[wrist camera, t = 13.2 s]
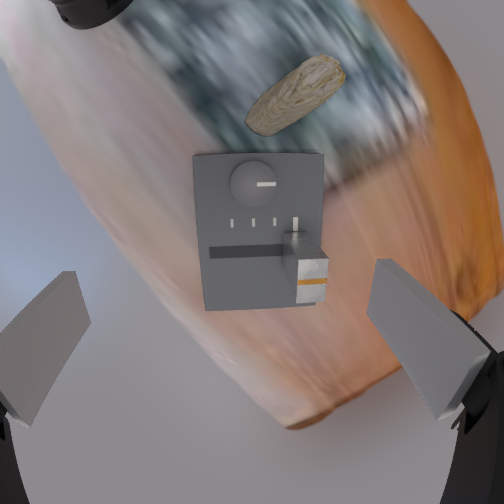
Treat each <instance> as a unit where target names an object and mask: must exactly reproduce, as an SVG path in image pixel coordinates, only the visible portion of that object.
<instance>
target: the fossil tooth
mask: <svg viewBox="0 0 504 504" xmlns="http://www.w3.org/2000/svg"><path fill="white" fill-rule="evenodd" d="M344 82H345V74H344V73H343V71H342V69H341V67H340V63H339V60H336V59H334V58H333V57H332V56H326V55H323V54H321V55H319V56H317V57H316V56H313V57H311V58H310V59H308V60H306V61H305V62H303V63H302V64H301V65H300V66H299V67H298V68H297V69H295V70H293V71H292V72H290V73H289V74H288V75H287V76H286V77H285V78H284V79H282V80H281V81H279V82H278V83H277V84H275V85H274V86H273V87H272V88H270V89H269V90H268V91H266V92H265V93H264V94H262V96H261V97H260V98H259V99H258V101H257V102H256V103H255V104H254V105H253V106H252V108H251V110H250V111H249V113H248V116H247V118H246V120H245V123H246V124H247V125H248V126H249V127H250V128H251V129H252V130H253V131H254V132H256V133H258V134H261V135H263V136H271V135H273V134H275V133H277V132H278V131H279V130H281V129H283V128H285V127H287V126H288V125H290V124H292V123H294V122H296V121H298V119H300V118H302V117H304V116H305V115H307V114H308V113H309V112H311V111H313V110H314V109H315V108H317V107H319V106H320V105H322V104H323V103H324V102H326V101H327V100H328V99H329V98H330V97H331V96H332V95H333V94H334V93H335V92H336V91H337V90H338V89H339V88H340V87H341V86H342V84H343V83H344Z"/></svg>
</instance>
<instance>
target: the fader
mask: <svg viewBox="0 0 504 504" xmlns="http://www.w3.org/2000/svg"><path fill="white" fill-rule="evenodd" d="M328 261H329V258H328V257H327V255H326V254H325V253H324V252H323V250H322V249H321V248H320V247H319V246H318V244H317V243H316V242H315V241H314V239H313V238H312V237H311V236H310V234H309V233H308V232H284V234H283V270H284V273H285V276H286V278H287V281H288V283H289V286H290V289H291V291H292V294H293V297H294V299H295V302H296V304H297V303H310V302H322V301H324V299H325V291H326V282H327V272H328Z"/></svg>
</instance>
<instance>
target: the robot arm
mask: <svg viewBox="0 0 504 504" xmlns="http://www.w3.org/2000/svg"><path fill="white" fill-rule="evenodd" d="M49 1H51V2H53V3H54V4H55V6H56V8H57V10H58V12H59V14H60V16H61V18H62V20H63V21H64V22H65V23H66V24H68V25H69V26H71V27H73V28H75V29H89V28H93V27H96V26H99V25H101V24H103V23H105V22H107V21H109V20H110V19H112V18H114V17H115V16H116V15H118V14H119V13H120V12H122V11H123V10H124V9H125V8H126V7H127V6H128V5H129V4H130V3H131V2H132V0H49ZM366 314H367V315H368V316H369V318H370V319H371V321H372V322H373V324H374V325H375V326H376V328H377V329H378V331H379V332H380V334H381V335H382V337H383V338H384V339H385V341H386V342H387V344H388V345H389V347H390V348H391V350H392V351H393V353H394V354H395V356H396V357H397V359H398V360H399V362H400V363H401V365H402V366H403V368H404V369H405V371H406V373H407V374H408V376H409V377H410V379H411V380H412V382H413V383H414V385H415V387H416V388H417V390H418V392H419V393H420V394H421V396H422V398H423V400H424V401H425V403H426V404H427V406H428V407H429V409H430V411H431V413H432V414H433V416H434V418H435V419H436V421H438V420H441V419H443V418H445V417H447V416H449V415H451V414H453V413H454V411H455V410H456V409H457V407H458V406H459V404H460V403H461V402H462V403H463V405H464V406H465V408H464V409H463V411H462V412H461V413H460V415H459V416H458V418H457V419H456V420H455V421H454V423H453V424H452V427H451V429H454V427H455V426H456V425H457V424H458V422H460V424H459V427H458V429H457V430H458V436H457V442H456V446H455V451H454V456H453V461H452V464H451V468H450V473H449V476H448V479H447V483H446V486H445V489H444V492H443V496H442V498H441V501H440V504H504V351H502V352H500V353H497V352H496V351H495V350H494V349H493V348H492V347H491V345H490V344H489V343H488V342H487V341H486V340H485V339H484V338H483V337H482V336H481V335H480V334H479V333H478V332H477V331H474V328H473V327H471V325H470V324H468V322H467V321H466V320H464V319H463V318H462V317H461V316H460V315H459V314H457V313H455V312H454V311H452V310H450V309H448V308H447V307H446V306H445V305H444V304H443V303H442V302H441V301H439V300H438V299H437V298H436V297H435V296H434V295H433V294H432V293H431V292H429V291H428V290H427V289H426V288H425V287H424V286H423V285H422V284H420V283H419V282H418V281H417V280H416V279H415V278H414V277H412V276H411V275H410V274H409V273H408V272H407V271H405V270H404V269H403V268H402V267H401V266H399V265H398V264H397V263H396V262H395V261H393V260H392V259H376V266H375V272H374V278H373V283H372V289H371V294H370V299H369V304H368V309H367V313H366ZM90 324H91V321H90V318H89V315H88V312H87V309H86V306H85V303H84V299H83V296H82V293H81V290H80V286H79V282H78V279H77V275H76V272H75V271H63V272H62V273H61V274H59V275H58V276H57V277H56V278H55V279H54V280H53V281H52V282H51V283H50V284H48V285H47V286H46V287H45V288H44V289H43V290H42V291H41V292H40V293H39V294H38V295H37V296H36V297H35V298H34V299H33V300H32V301H31V302H30V303H29V304H28V305H27V306H26V307H25V308H24V309H23V310H22V311H21V312H20V313H19V314H18V315H17V316H16V317H15V318H14V319H13V320H12V321H11V322H10V323H9V324H8V325H7V327H5V329H4V330H3V331H2V332H1V333H0V504H30V503H29V501H28V498H27V495H26V492H25V489H24V486H23V483H22V479H21V476H20V472H19V468H18V464H17V460H16V456H15V452H14V447H13V442H12V436H11V431H10V425H9V422H8V419H7V418H6V417H5V415H6V413H7V411H8V413H9V414H10V415H11V416H12V418H13V419H14V420H15V421H16V422H17V423H19V424H22V425H24V426H26V427H29V428H30V427H31V425H32V423H33V421H34V419H35V417H36V415H37V413H38V411H39V409H40V407H41V405H42V403H43V402H44V400H45V398H46V396H47V394H48V392H49V391H50V389H51V387H52V385H53V384H54V382H55V380H56V378H57V376H58V375H59V373H60V371H61V370H62V368H63V366H64V365H65V363H66V362H67V360H68V358H69V357H70V355H71V353H72V352H73V350H74V349H75V347H76V345H77V344H78V342H79V341H80V339H81V338H82V336H83V335H84V333H85V332H86V330H87V329H88V327H89V326H90Z"/></svg>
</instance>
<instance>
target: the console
mask: <svg viewBox="0 0 504 504" xmlns="http://www.w3.org/2000/svg"><path fill="white" fill-rule="evenodd" d="M193 176H194V193H195V208H196V221H197V234H198V245H199V256H200V266H201V276H202V285H203V294H204V303H205V311H221V310H246V309H266V308H283V307H297V306H310V305H315V303H316V302H310V303H297V304H296V302H295V299H294V297H293V294H292V291H291V289H290V286H289V283H288V281H287V278H286V276H285V273H284V270H283V234H284V232H308V233H309V234H310V236H311V237H312V238H313V239H314V241H315V242H316V243H317V244H318V246H319V247H320V246H321V230H322V211H323V184H324V154H316V153H231V154H211V155H196V156H193Z"/></svg>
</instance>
